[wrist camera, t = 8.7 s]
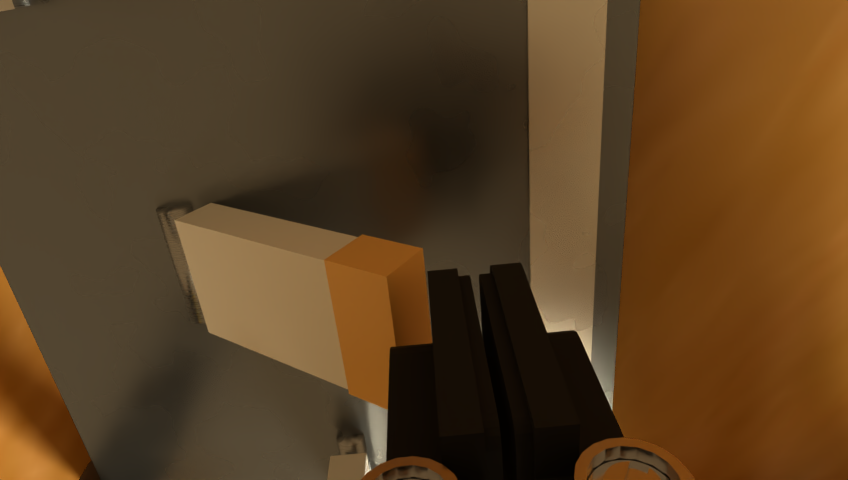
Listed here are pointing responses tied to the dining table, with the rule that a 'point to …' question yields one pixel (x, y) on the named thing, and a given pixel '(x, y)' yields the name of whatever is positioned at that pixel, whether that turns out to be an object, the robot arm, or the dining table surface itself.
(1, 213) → the panel
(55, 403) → the dining table surface
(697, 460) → the dining table surface
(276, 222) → the cream block orange end
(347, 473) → the beige flat bar
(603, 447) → the robot arm
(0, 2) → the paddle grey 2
